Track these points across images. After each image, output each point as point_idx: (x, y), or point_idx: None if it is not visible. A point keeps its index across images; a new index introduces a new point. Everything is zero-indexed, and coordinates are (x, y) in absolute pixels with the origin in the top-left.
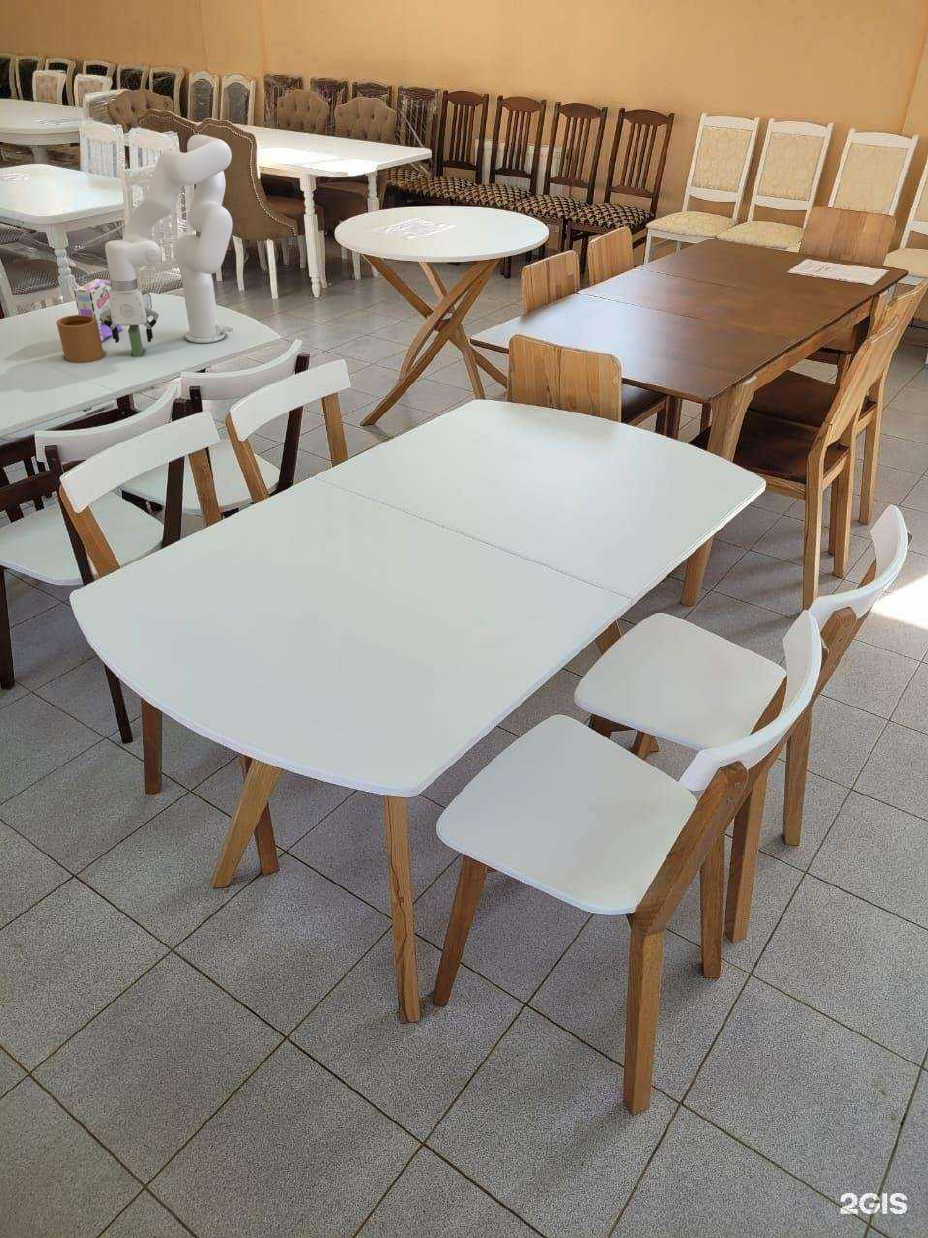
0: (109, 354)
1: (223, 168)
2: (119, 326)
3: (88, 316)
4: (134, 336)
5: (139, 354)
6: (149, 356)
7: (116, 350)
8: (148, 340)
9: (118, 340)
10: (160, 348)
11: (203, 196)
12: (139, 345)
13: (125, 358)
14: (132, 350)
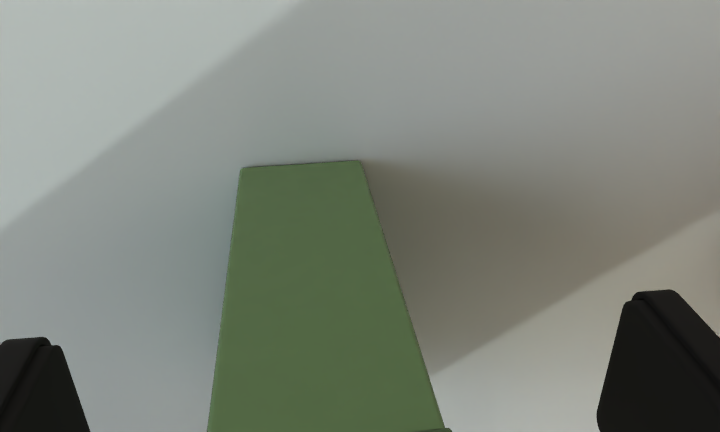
0: (667, 224)
1: None
2: None
3: None
4: (292, 366)
5: (261, 171)
6: (99, 130)
7: (578, 343)
8: (24, 355)
9: (617, 357)
10: None
11: None
12: (231, 259)
13: (460, 59)
14: (362, 193)
